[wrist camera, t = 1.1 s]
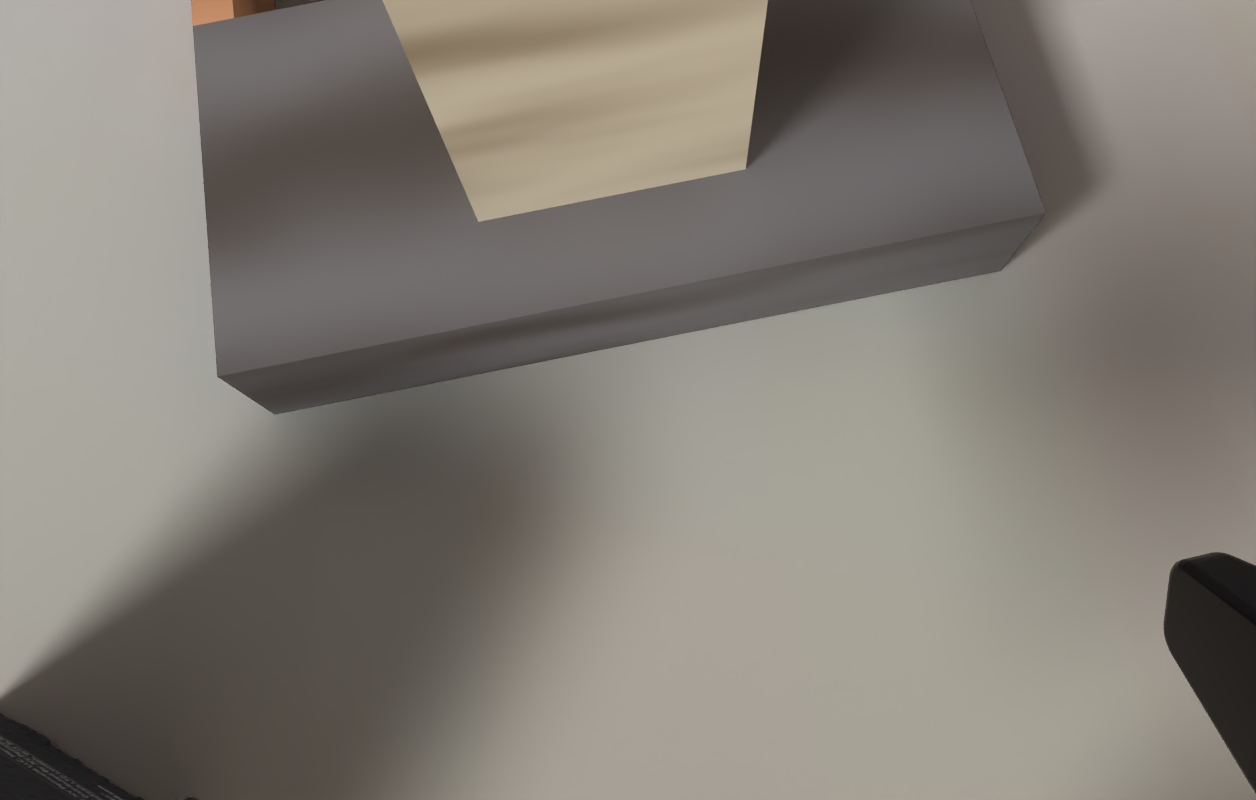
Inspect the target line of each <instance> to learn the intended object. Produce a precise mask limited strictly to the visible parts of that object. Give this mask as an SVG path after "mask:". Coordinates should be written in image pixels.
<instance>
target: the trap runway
mask: <svg viewBox="0 0 1256 800" xmlns="http://www.w3.org/2000/svg"><path fill="white" fill-rule="evenodd" d="M191 6H192V20H193V35H194V49H195V63H196V78H197V92H198V106H199V120H200V135H201V149H202V163H203V178H204V192H205V206H206V221H207V235H208V249H209V263H210V278H211V292H212V306H213V321H214V335H215V349H216V363H217V377H219V378H220V379H222V380H223V381H225V382H226V383H228V384H229V385H231V386H232V387H234V388H236V389H237V390H239V391H240V392H242V393H243V394H245V395H246V396H248V397H249V398H251V399H252V400H254V401H255V402H257V403H258V404H260V405H261V406H263V407H264V408H266V409H267V410H269V411H270V412H272V413H273V414H278V413H284V412H289V411H294V410H299V409H304V408H309V407H314V406H319V405H324V404H329V403H334V402H339V401H344V400H349V399H354V398H359V397H364V396H369V395H374V394H380V393H385V392H390V391H395V390H400V389H405V388H410V387H415V386H420V385H425V384H430V383H435V382H440V381H445V380H450V379H455V378H460V377H465V376H470V375H476V374H481V373H486V372H491V371H496V370H501V369H506V368H511V367H516V366H521V365H526V364H531V363H536V362H541V361H546V360H551V359H556V358H561V357H566V356H572V355H577V354H582V353H587V352H592V351H597V350H602V349H607V348H612V347H617V346H622V345H627V344H632V343H637V342H642V341H647V340H652V339H657V338H662V337H668V336H673V335H678V334H683V333H688V332H693V331H698V330H703V329H708V328H713V327H718V326H723V325H728V324H733V323H738V322H743V321H748V320H753V319H758V318H764V317H769V316H774V315H779V314H784V313H789V312H794V311H799V310H804V309H809V308H814V307H819V306H824V305H829V304H834V303H839V302H844V301H849V300H855V299H860V298H865V297H870V296H875V295H880V294H885V293H890V292H895V291H900V290H905V289H910V288H915V287H920V286H925V285H930V284H935V283H940V282H945V281H951V280H956V279H961V278H966V277H971V276H976V275H981V274H986V273H991V272H996V271H1001V269H1002V268H1003V267H1004V265H1005V264H1006V263H1007V262H1008V260H1009V259H1010V258H1011V257H1012V255H1013V254H1014V253H1015V251H1016V250H1017V249H1018V248H1019V246H1020V245H1021V244H1022V243H1023V241H1024V240H1025V239H1026V237H1027V236H1028V235H1029V234H1030V232H1031V231H1032V230H1033V229H1034V227H1035V226H1036V225H1037V223H1038V222H1039V221H1040V220H1041V218H1042V217H1043V216H1044V215H1045V213H1046V212H1045V209H1044V206H1043V203H1042V201H1041V198H1040V195H1039V192H1038V189H1037V187H1036V184H1035V181H1034V178H1033V175H1032V172H1031V170H1030V167H1029V164H1028V161H1027V158H1026V156H1025V153H1024V150H1023V147H1022V144H1021V141H1020V139H1019V136H1018V133H1017V130H1016V127H1015V125H1014V122H1013V119H1012V116H1011V113H1010V110H1009V108H1008V105H1007V102H1006V99H1005V96H1004V93H1003V91H1002V88H1001V85H1000V82H999V79H998V77H997V74H996V71H995V68H994V65H993V62H992V60H991V57H990V54H989V51H988V48H987V46H986V43H985V40H984V37H983V34H982V31H981V29H980V26H979V23H978V20H977V17H976V14H975V12H974V9H973V6H972V3H971V0H768V4H767V12H766V19H765V27H764V34H763V42H762V49H761V57H760V64H759V72H758V79H757V87H756V95H755V102H754V110H753V117H752V125H751V132H750V140H749V147H748V155H747V162H746V169H744V170H739V171H734V172H729V173H724V174H719V175H714V176H709V177H704V178H699V179H694V180H689V181H684V182H678V183H673V184H668V185H663V186H658V187H653V188H648V189H643V190H638V191H633V192H628V193H623V194H617V195H612V196H607V197H602V198H597V199H592V200H587V201H582V202H577V203H572V204H567V205H562V206H557V207H551V208H546V209H541V210H536V211H531V212H526V213H521V214H516V215H511V216H506V217H501V218H496V219H490V220H485V221H480V222H478V220H477V217H476V215H475V213H474V211H473V208H472V206H471V204H470V201H469V199H468V197H467V194H466V192H465V190H464V187H463V185H462V183H461V181H460V178H459V176H458V174H457V171H456V169H455V167H454V164H453V162H452V160H451V157H450V155H449V153H448V151H447V148H446V146H445V144H444V141H443V139H442V137H441V134H440V132H439V130H438V127H437V125H436V123H435V121H434V118H433V116H432V114H431V111H430V109H429V107H428V104H427V102H426V100H425V97H424V95H423V93H422V91H421V88H420V86H419V84H418V81H417V79H416V77H415V74H414V72H413V70H412V67H411V65H410V63H409V61H408V58H407V56H406V54H405V51H404V49H403V47H402V44H401V42H400V40H399V37H398V35H397V33H396V31H395V28H394V26H393V24H392V21H391V19H390V17H389V14H388V12H387V10H386V7H385V5H384V3H383V1H382V0H324V1H319V2H314V3H308V4H303V5H298V6H293V7H288V8H283V9H278V10H275V3H274V0H191Z"/></svg>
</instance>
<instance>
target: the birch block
mask: <svg viewBox="0 0 1256 800" xmlns="http://www.w3.org/2000/svg"><path fill="white" fill-rule="evenodd" d="M382 1H383V3H384V5H385V7H386V10H387V12H388V14H389V17H390V19H391V21H392V24H393V26H394V28H395V31H396V33H397V35H398V37H399V40H400V42H401V44H402V47H403V49H404V51H405V54H406V56H407V58H408V61H409V63H410V65H411V67H412V70H413V72H414V74H415V77H416V79H417V81H418V84H419V86H420V88H421V91H422V93H423V95H424V97H425V100H426V102H427V104H428V107H429V109H430V111H431V114H432V116H433V118H434V121H435V123H436V125H437V127H438V130H439V132H440V134H441V137H442V139H443V141H444V144H445V146H446V148H447V151H448V153H449V155H450V157H451V160H452V162H453V164H454V167H455V169H456V171H457V174H458V176H459V178H460V181H461V183H462V185H463V187H464V190H465V192H466V194H467V197H468V199H469V201H470V204H471V206H472V208H473V211H474V213H475V215H476V217H477V220H478V222H480V221H485V220H490V219H496V218H501V217H506V216H511V215H516V214H521V213H526V212H531V211H536V210H541V209H546V208H551V207H557V206H562V205H567V204H572V203H577V202H582V201H587V200H592V199H597V198H602V197H607V196H612V195H617V194H623V193H628V192H633V191H638V190H643V189H648V188H653V187H658V186H663V185H668V184H673V183H678V182H684V181H689V180H694V179H699V178H704V177H709V176H714V175H719V174H724V173H729V172H734V171H739V170H744V169H746V162H747V155H748V147H749V140H750V132H751V125H752V117H753V110H754V102H755V95H756V87H757V79H758V72H759V64H760V57H761V49H762V42H763V34H764V27H765V19H766V12H767V4H768V0H382Z"/></svg>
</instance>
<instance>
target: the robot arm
mask: <svg viewBox="0 0 1256 800" xmlns="http://www.w3.org/2000/svg"><path fill="white" fill-rule="evenodd" d="M1164 635H1165V639H1166V643H1167V645H1168V648H1169V650H1170V652H1171V654H1172V656H1173V657H1174V659H1175V661H1176V662H1177V664H1178V666H1179V667H1180V669H1181V671H1182V672H1183V674H1184V676H1185V677H1186V679H1187V681H1188V682H1189V684H1190V686H1191V687H1192V689H1193V691H1194V692H1195V694H1196V696H1197V697H1198V699H1199V701H1200V702H1201V704H1202V706H1203V707H1204V709H1205V711H1206V712H1207V714H1208V716H1209V717H1210V719H1211V721H1212V722H1213V724H1214V725H1215V727H1216V729H1217V730H1218V732H1219V734H1220V735H1221V737H1222V739H1223V740H1224V742H1225V744H1226V745H1227V747H1228V749H1229V750H1230V752H1231V754H1232V755H1233V757H1234V759H1235V760H1236V762H1237V764H1238V765H1239V767H1240V769H1241V770H1242V772H1243V774H1244V775H1245V777H1246V779H1247V780H1248V782H1249V783H1250V785H1251V786H1252V788H1253V790H1254V791H1255V793H1256V565H1253V564H1251V563H1248V562H1246V561H1244V560H1241V559H1239V558H1236V557H1234V556H1231V555H1229V554H1225V553H1220V552H1215V553H1209V554H1205V555H1200V556H1196V557H1192V558H1188V559H1184V560H1180V561H1178V562H1176V563H1175V565H1174V566H1173V567H1172V569H1171V571H1170V576H1169V584H1168V593H1167V601H1166V609H1165V617H1164ZM176 800H199V799H197V798H195V797H185V798H181V799H176Z"/></svg>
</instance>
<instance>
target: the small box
mask: <svg viewBox="0 0 1256 800" xmlns="http://www.w3.org/2000/svg"><path fill="white" fill-rule="evenodd" d="M0 800H143V799H142V798H139V797H138V798H136V797H133V796H132V795H130V794H128V793H127V792H126V791H124V790H122V789H120V788H119V787H118V786H116V785H114V784H112V783H111V782H110V781H109V780H108V779H106V778H103V777H101V776H99V775H97V774H96V773H95V772H93V771H91V770H90V769H88V768H86V767H85V766H84V765H83V764H82V763H81V762H80V761H79V760H78V759H75V758H71V757H70V756H68V755H66V754H64V753H63V752H62V751H61V750H59V749H57V748H55V747H54V746H52V745H51V743H50V741H49V740H48V738H47V737H45V736H43V735H40V734H38V733H37V732H36V731H34V730H31V729H29V728H27V727H26V726H24V725H22V724H19V723H17V722H15V721H13V720H11V719H8V718H6V717H4V716H3V715H1V714H0Z"/></svg>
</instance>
